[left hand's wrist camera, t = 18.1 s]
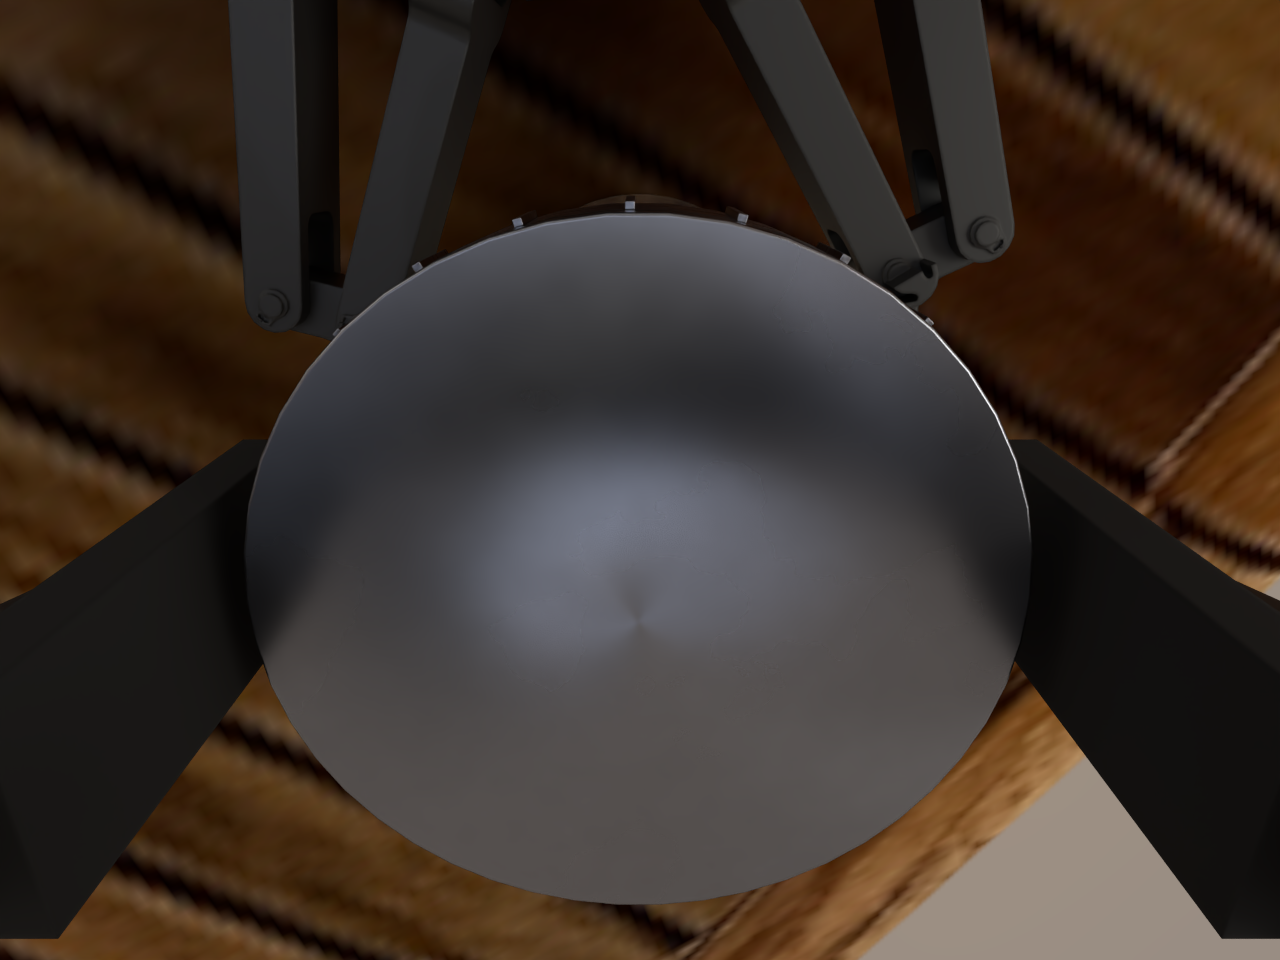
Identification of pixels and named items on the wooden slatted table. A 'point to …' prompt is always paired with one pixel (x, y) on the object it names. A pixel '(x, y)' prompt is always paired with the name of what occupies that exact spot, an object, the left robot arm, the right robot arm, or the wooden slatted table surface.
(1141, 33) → the wooden slatted table surface
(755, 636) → the lid
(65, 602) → the left robot arm
